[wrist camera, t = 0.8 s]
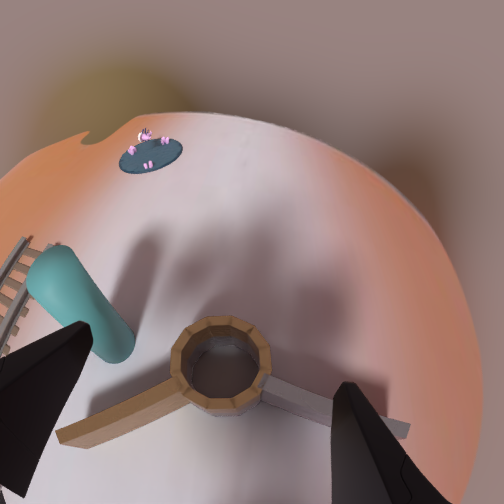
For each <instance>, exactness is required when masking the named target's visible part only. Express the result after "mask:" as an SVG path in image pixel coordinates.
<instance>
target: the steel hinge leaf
mask: <svg viewBox="0 0 504 504" xmlns="http://www.w3.org/2000/svg"><path fill="white" fill-rule="evenodd" d="M229 345H234V346H236V347H238V348H240V349H242V350H244V351H246V352H249V354H250V355H251V357H252V358H253V359H254V361H255V362H256V363H257V365H258V368H259V358H258V357H257V355H256V354H255V353H254V351H253V350H252V348H251V347H250V346H249V344H248V343H246V342H243V341H241V340H239V339H237V338H235V337H233V336H217V337H211V338H209V339H208V340H206V341H204V342H202V343H200V344H199V345H197V346H196V348H195V349H194V351H193V352H192V354H191V355H190V357H189V359H188V360H187V379H188V381H189V383H190V384H191V386H192V388H193V389H194V390H195V388H194V386H193V385H192V369H193V366H194V365H195V363H196V362H197V360H198V359H199V357H200V355H201V354H202V353H204V352H206V351H208V350H210V349H211V348H213V347H215V346H229ZM259 370H260V369H259ZM264 375H266V373H264ZM264 375H263V377H262V379H261V381H260V382H261V383H262V384H263V382H264V384H265V385H264V384H263V386H264V387H263V388H262V384H261V383H260V382H259V384H258V385H259V386H257V387H260V389H262V395H261V397H260V399H259V400H258V401H256V402H254V403H253V404H251V405H249V406H248V407H246V408H244V409H243V410H241V411H239V412H238V413H210V412H208V411H206V410H204V409H202V408H201V407H199V406H197V405H195V404H193V403H192V402H191V403H192V404H193V405H195V406H196V407H198V408H200V409H202V410H204V411H206V412H207V413H209V414H211V415H213V416H239V415H241V414H243V413H245V412H246V411H248V410H250V409H251V408H253V407H255V406H256V405H258V404H259V403H260V401H261V400H262V401H265V402H267V403H269V404H272V405H274V406H276V407H279V408H281V409H283V410H286V411H288V412H291V413H293V414H296V415H299V416H301V417H304V418H306V419H309V420H312V421H315V422H317V423H320V424H323V425H326V426H329V427H331V424H332V409H333V400H331V399H329V398H326V397H323V396H320V395H318V394H315V393H312V392H310V391H307V390H305V389H302V388H300V387H297V386H295V385H292V384H290V383H287V382H285V381H282V380H280V379H278V378H275V377H273V376H271V375H268V374H267V375H266V376H267V377H266V376H264ZM268 376H269V377H268ZM264 380H265V381H264ZM266 380H267V381H266ZM195 391H196V390H195ZM379 416H380V415H379ZM380 417H381V419H382V420H383V421H384V423H385V424H386V426H387V427H388V428H389V430H390V431H391V432H392V434H393V435H394V437H395V438H396V439H397V440H401V439H406V437H407V434H408V431H409V428H410V425H411V424H409V423H405V422H402V421H398V420H394V419H391V418H387V417H384V416H380Z"/></svg>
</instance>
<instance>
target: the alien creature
mask: <svg viewBox="0 0 504 504" xmlns="http://www.w3.org/2000/svg"><path fill="white" fill-rule="evenodd" d="M148 130H149V129H148ZM143 131H144V129H143V130H142V133H139V136H138V138H139V141H140V142H142V141H144V140H145V142H143V143H140V144H138V145H136V146H134V147H133V146H130V149H128V150H127V151H126V152H125V153H124V154H123V155H122V157H121V159H120V161H119V167H120V169H121V170H122V171H124V172H126V173H131V174H141V173H147V172H152V171H155V170H158V169H161V168H163V167H165V166H167V165H169V164H171V163H172V162H174V161H175V160H176V159H177V158H178V157H179V156H180V155H181V153H182V150H183V147H182V145H181V144H180V142H178V141H176V140H174V139H169V137H166V138H165V137H162V138H160V139H153V140H149V139H150V138H151V137H150V136H151V134H152V132H150V133H148V132H147V133H146V128H145V134H144V133H143ZM146 140H148V141H146Z"/></svg>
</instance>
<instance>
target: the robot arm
mask: <svg viewBox="0 0 504 504" xmlns="http://www.w3.org/2000/svg"><path fill="white" fill-rule="evenodd" d="M92 346H93V335H92V331H91V327H90V325H89V323H87V322H84V321H81V320H79V321H76V322H74V323H72V324H70V325H68V326H66V327H64V328H62V329H60V330H58V331H55V332H53V333H51V334H49V335H47V336H45V337H43V338H41V339H39V340H37V341H35V342H33V343H31V344H29V345H27V346H25V347H22V348H20V349H18V350H16V351H14V352H12V353H10V354H8V355H6V357H5V356H4V357H2V358H0V504H6V502H5V500H4V496H3V493H2V490H1V489H2V487H3V486H4V487H6V488H7V489H9V490H10V491H12V492H14V493H15V494H17V495H19V496H20V497H22V498H25V496H26V493H27V490H28V488H29V485H30V482H31V480H32V477H33V475H34V472H35V470H36V467H37V465H38V462H39V459H40V457H41V455H42V452H43V450H44V448H45V446H46V443H47V441H48V439H49V437H50V435H51V432H52V430H53V428H54V426H55V424H56V422H57V420H58V418H59V416H60V414H61V412H62V410H63V408H64V406H65V404H66V402H67V400H68V398H69V396H70V394H71V392H72V390H73V388H74V386H75V384H76V383H77V381H78V379H79V377H80V374H81V372H82V370H83V367H84V365H85V362H86V360H87V357H88V355H89V353H90V350H91V348H92ZM331 472H332V504H452V503H450V502H449V501H447V500H446V499H445V498H444V497H443V496H442V495H441V494H440V493H439V492H438V490H437V489H436V488H435V487H434V486H433V485H432V484H431V483H430V482H429V481H428V480H427V478H426V477H425V476H424V475H423V474H422V473H421V472H420V470H419V469H418V468H417V466H416V465H415V464H414V463H413V461H412V460H411V459H410V457H409V456H408V454H406V452H405V450H404V449H403V448H402V446H401V445H400V443H399V442H398V441H397V439H396V438H395V437H394V435H393V434H392V432H391V431H390V430H389V428H388V427H387V426H386V424H385V423H384V421H383V420H382V419H381V417H380V416H379V415H378V413H377V412H376V410H375V409H374V408H373V406H372V405H371V404H370V402H369V401H368V399H367V398H366V397H365V395H364V394H363V393H362V391H361V390H360V389H359V387H358V386H357V384H356V383H354V382H346V381H345V382H343V383H342V384H341V386H340V387H339V389H338V390H337V392H336V393H335V395H334V398H333V409H332V424H331Z"/></svg>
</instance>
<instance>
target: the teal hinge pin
mask: <svg viewBox="0 0 504 504" xmlns="http://www.w3.org/2000/svg"><path fill="white" fill-rule="evenodd" d="M26 286H27V290H28V292H29V293H30V294H31V295H32V296H33V297H34V298H35V299H36V301H37V302H38V303H39V304H40V305H41V306H42V307H43V308H44V309H45V310H46V311H47V312H48V313H50V314H51V315H52V316H53V317H54V318H55V319H56V320H57V321H58V322H59V323H60V324H61V325H62V326H63V327H66V326H68V325H70V324H72V323H74V322H76V321H79V320H81V321H84V322H87V323H89V325H90V327H91V331H92V335H93V346H92V348H91V351H92V352H94V353H95V354H96V355H97V356H99V357H100V358H101V359H103V360H104V361H105V362H108V363H112V364H116V363H120V362H123V361H124V360H126V359H127V358H128V357H129V356H130V355H131V353H132V351H133V349H134V346H135V337H134V334H133V332H132V330H131V329H130V328H129V327H128V325H127V324H126V323H125V322H124V320H123V319H122V318H121V317H120V316H119V314H118V313H117V312H116V310H115V309H114V308H113V307H112V305H111V304H110V303H109V301H108V300H107V299H106V297H105V296H104V295H103V293H102V292H101V291H100V289H99V288H98V287H97V285H96V284H95V283H94V281H93V280H92V278H91V277H90V276H89V274H88V273H87V271H86V270H85V268H84V267H83V265H82V264H81V262H80V261H79V259H78V258H77V256H76V255H75V253H74V252H73V250H72V249H71V248H70V247H68V246H65V245H57V246H53V247H51V248H49V249H47V250H45V251H44V252H43V253H41V254H40V255H39V256H38V257H37V258H36V260H35V261H34V262H33V264H32V265H31V267H30V269H29V271H28V274H27V279H26Z"/></svg>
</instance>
